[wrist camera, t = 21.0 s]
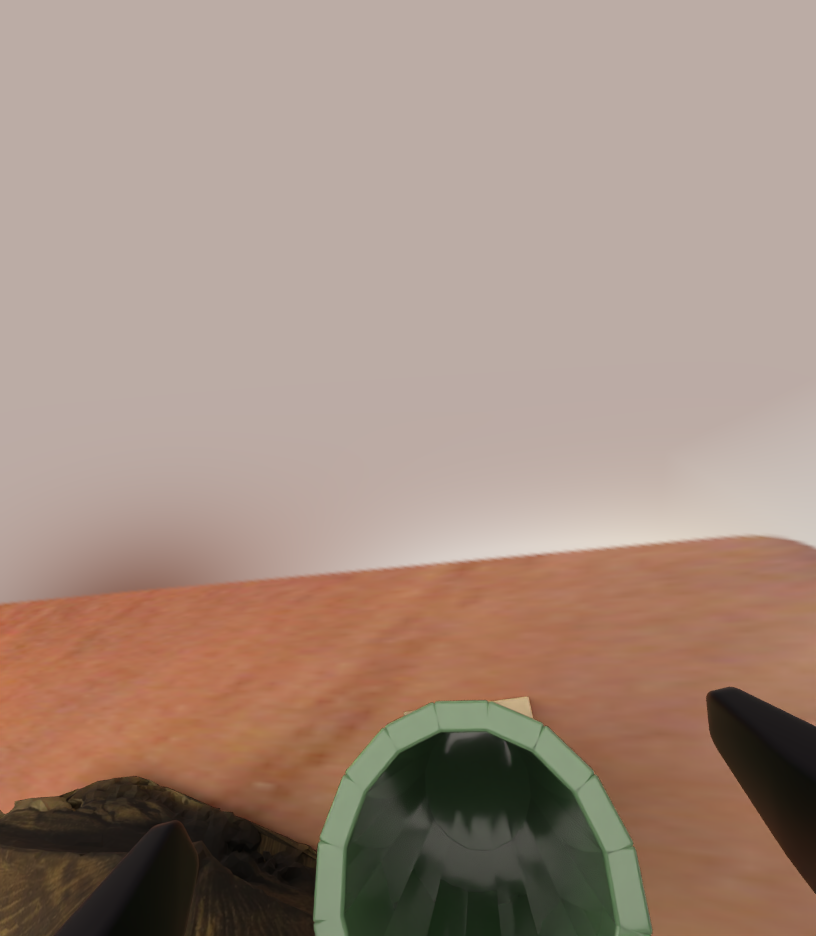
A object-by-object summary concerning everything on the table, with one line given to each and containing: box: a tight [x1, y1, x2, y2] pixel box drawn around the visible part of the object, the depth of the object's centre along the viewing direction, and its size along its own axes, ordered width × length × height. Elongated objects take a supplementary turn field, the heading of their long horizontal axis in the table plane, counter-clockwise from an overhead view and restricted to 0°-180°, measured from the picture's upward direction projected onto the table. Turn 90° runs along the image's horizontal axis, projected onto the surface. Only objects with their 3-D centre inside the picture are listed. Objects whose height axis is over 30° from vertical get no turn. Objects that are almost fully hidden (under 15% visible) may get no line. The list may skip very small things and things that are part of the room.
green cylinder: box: [313, 700, 653, 936], centre depth 12 cm, size 5×5×13 cm
